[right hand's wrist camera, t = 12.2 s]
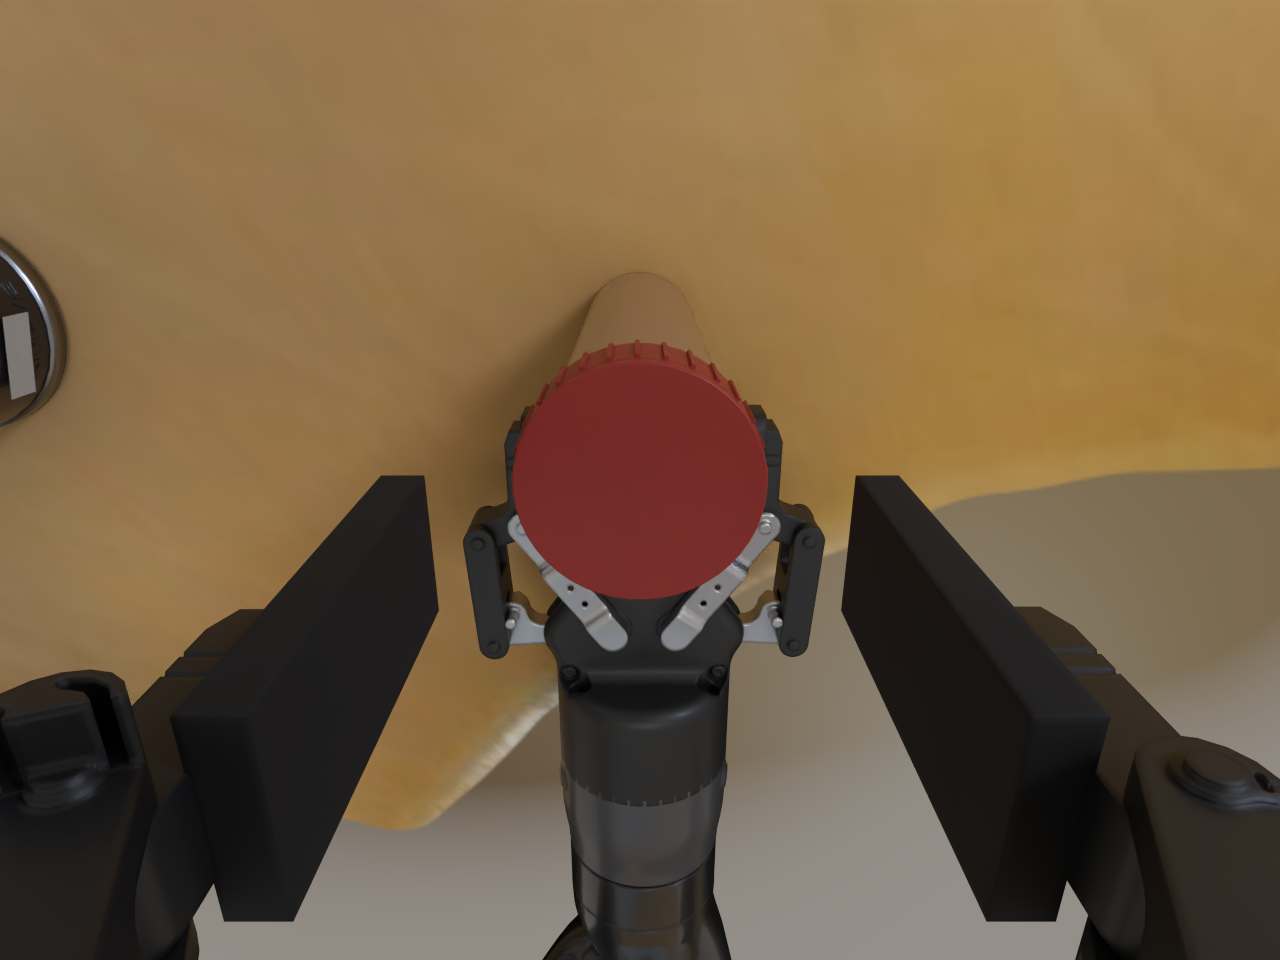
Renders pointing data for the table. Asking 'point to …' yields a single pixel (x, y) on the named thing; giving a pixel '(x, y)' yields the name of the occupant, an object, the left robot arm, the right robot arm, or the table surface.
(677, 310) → the jar
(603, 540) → the lid
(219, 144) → the table surface
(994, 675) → the right robot arm
